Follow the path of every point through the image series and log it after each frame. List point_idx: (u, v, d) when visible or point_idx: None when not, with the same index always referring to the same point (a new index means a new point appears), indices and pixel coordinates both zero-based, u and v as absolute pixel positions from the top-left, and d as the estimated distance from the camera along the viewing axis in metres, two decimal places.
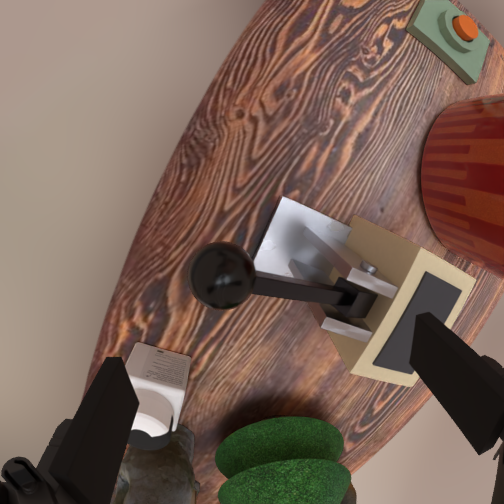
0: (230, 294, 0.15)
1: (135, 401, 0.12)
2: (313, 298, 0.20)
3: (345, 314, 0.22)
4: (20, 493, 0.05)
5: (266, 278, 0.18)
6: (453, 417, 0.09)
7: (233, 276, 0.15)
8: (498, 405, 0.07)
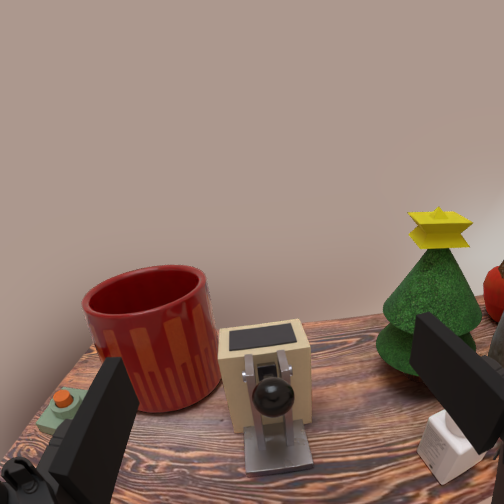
0: (272, 378, 0.25)
1: (135, 401, 0.12)
2: (271, 376, 0.32)
3: (274, 366, 0.35)
4: (20, 493, 0.05)
5: None
6: (453, 417, 0.09)
7: (262, 382, 0.24)
8: (498, 405, 0.07)
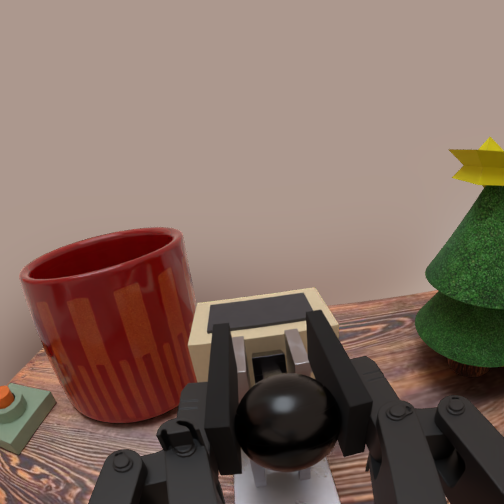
0: (286, 376, 0.10)
1: (236, 366, 0.15)
2: None
3: (282, 356, 0.20)
4: (170, 455, 0.07)
5: None
6: None
7: (260, 387, 0.09)
8: (346, 407, 0.09)
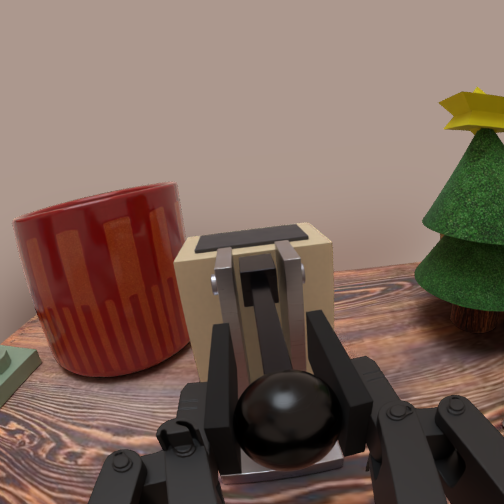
0: (291, 390, 0.08)
1: (236, 367, 0.15)
2: (270, 309, 0.16)
3: (273, 270, 0.19)
4: (169, 455, 0.07)
5: (263, 367, 0.12)
6: None
7: (262, 402, 0.08)
8: (347, 407, 0.09)
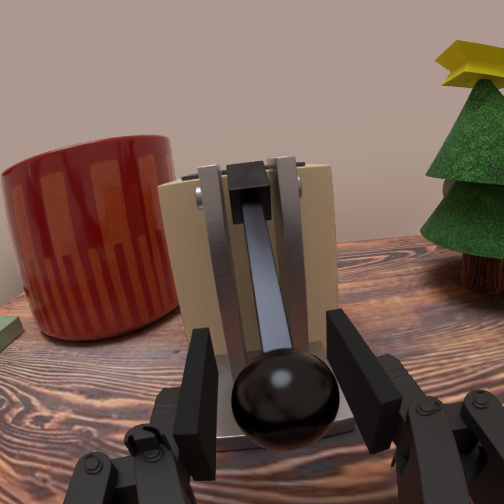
0: (292, 391, 0.08)
1: (217, 371, 0.14)
2: (264, 244, 0.14)
3: (267, 188, 0.16)
4: (138, 460, 0.07)
5: (260, 333, 0.11)
6: (353, 412, 0.11)
7: (263, 401, 0.08)
8: (376, 404, 0.08)
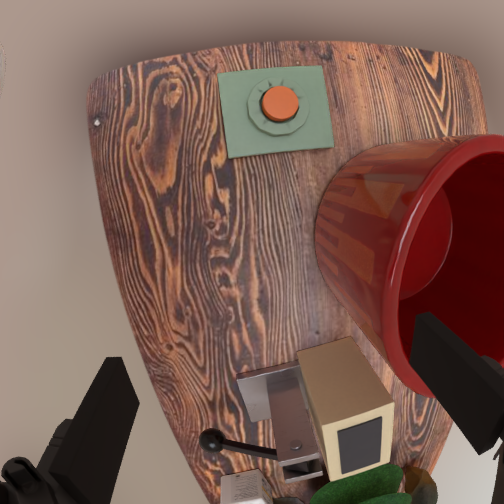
0: (204, 449, 0.34)
1: (135, 402, 0.12)
2: (258, 455, 0.32)
3: (286, 467, 0.30)
4: (20, 493, 0.05)
5: (225, 444, 0.34)
6: (453, 417, 0.09)
7: (202, 444, 0.34)
8: (498, 405, 0.07)
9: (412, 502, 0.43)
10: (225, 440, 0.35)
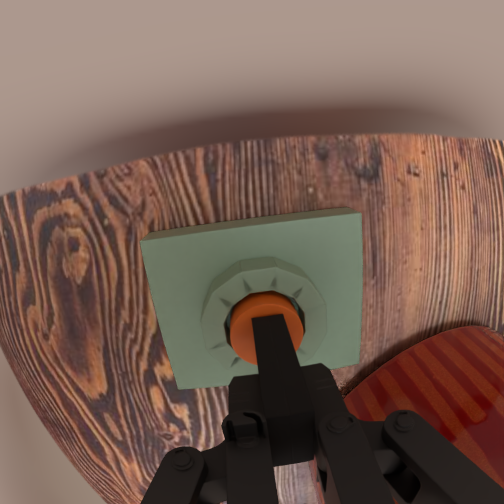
0: None
1: None
2: None
3: None
4: (231, 446, 0.07)
5: None
6: None
7: None
8: None
9: None
10: None
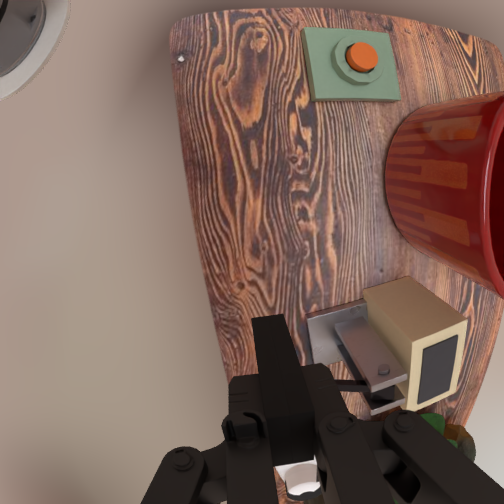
0: None
1: None
2: (341, 389, 0.34)
3: None
4: (231, 446, 0.07)
5: None
6: None
7: None
8: None
9: None
10: None
